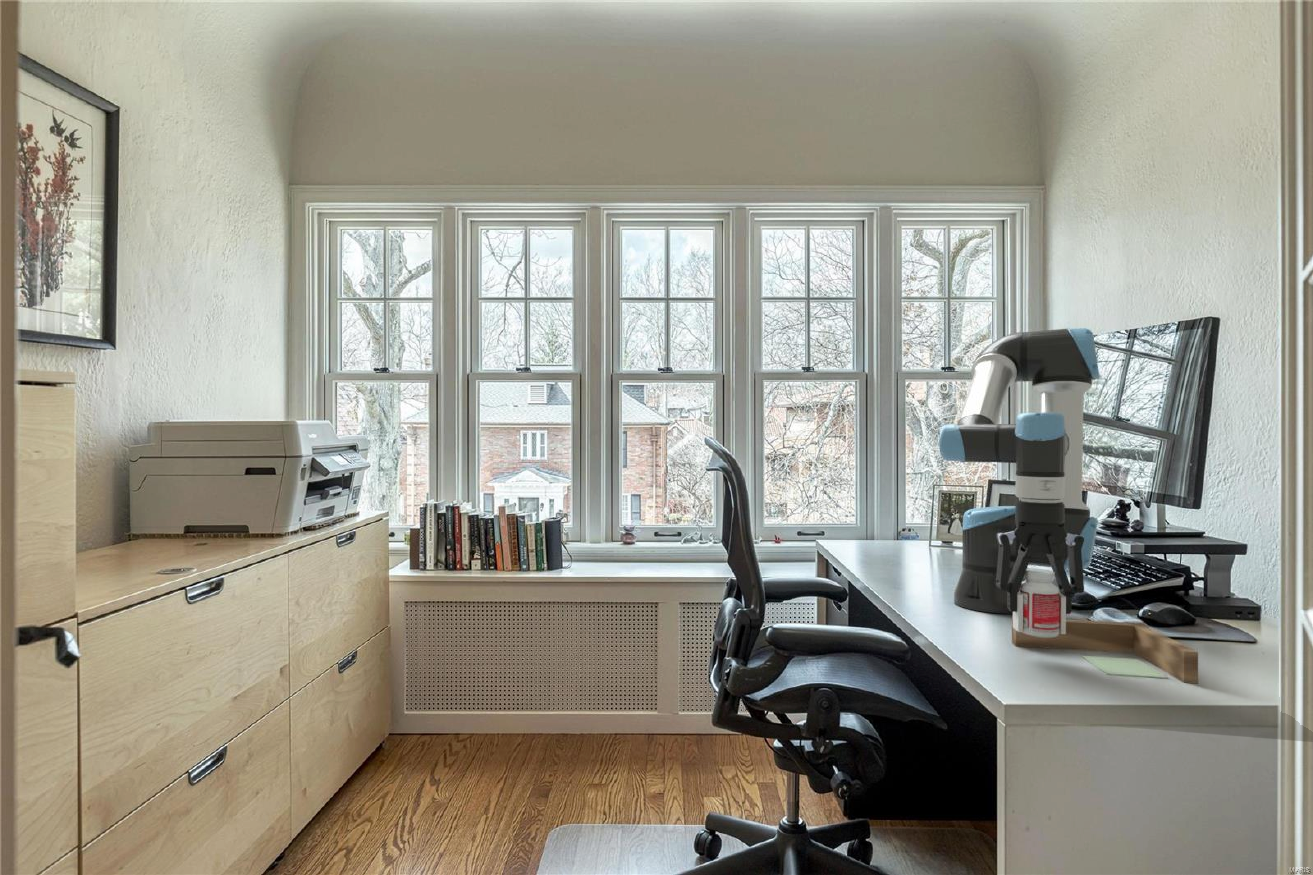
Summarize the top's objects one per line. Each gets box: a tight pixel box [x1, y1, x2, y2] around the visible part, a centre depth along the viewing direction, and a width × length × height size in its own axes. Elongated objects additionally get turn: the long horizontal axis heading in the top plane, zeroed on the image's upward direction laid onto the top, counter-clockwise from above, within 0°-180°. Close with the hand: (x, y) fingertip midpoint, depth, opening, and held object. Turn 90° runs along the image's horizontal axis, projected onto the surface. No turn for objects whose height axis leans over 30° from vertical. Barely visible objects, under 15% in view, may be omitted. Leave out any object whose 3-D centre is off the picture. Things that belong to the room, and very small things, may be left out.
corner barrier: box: [1011, 616, 1199, 684], centre depth 116 cm, size 17×22×5 cm
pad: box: [1081, 655, 1169, 679], centre depth 113 cm, size 9×9×1 cm
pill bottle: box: [1019, 567, 1060, 638], centre depth 117 cm, size 6×6×11 cm
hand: (1038, 630), depth 117 cm, fingers closed on pill bottle, 6 cm apart
